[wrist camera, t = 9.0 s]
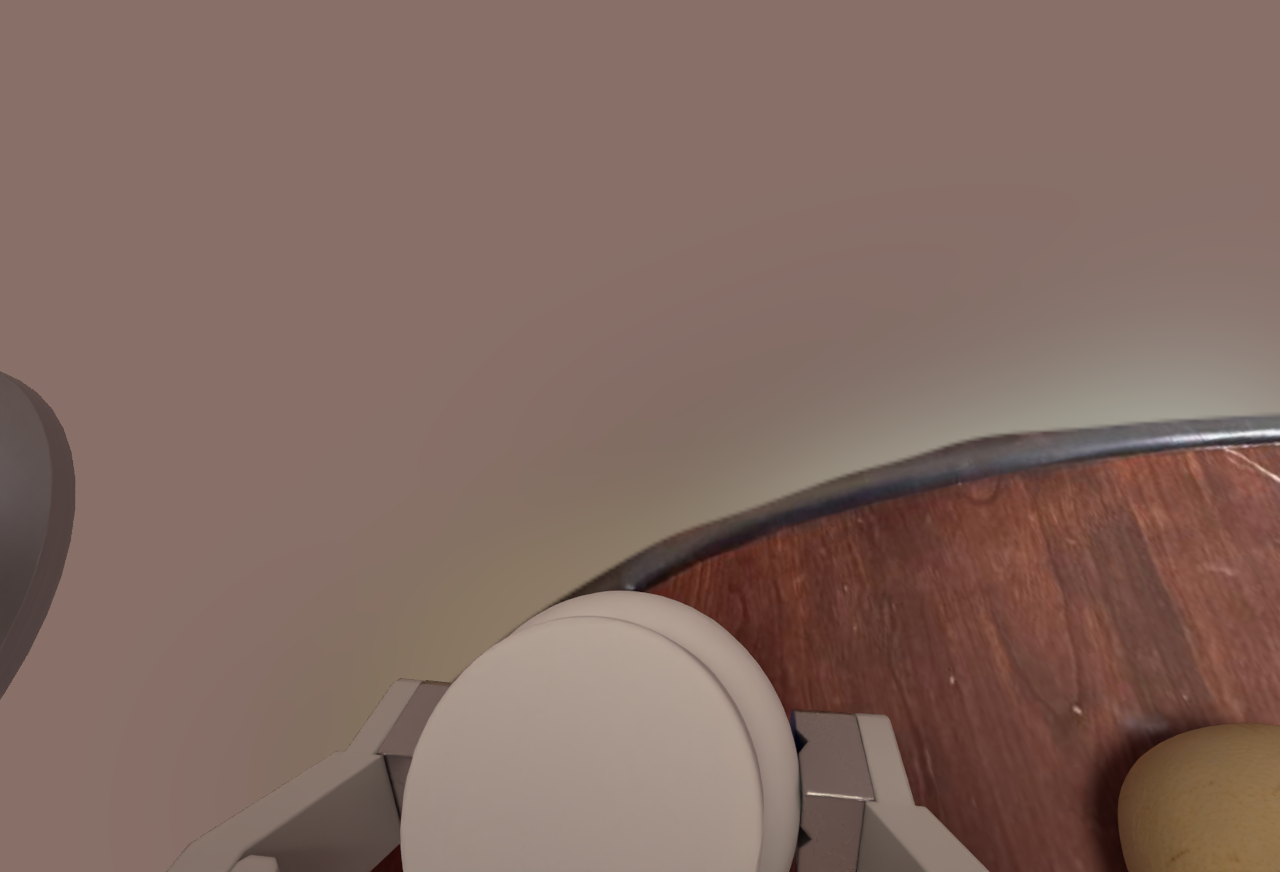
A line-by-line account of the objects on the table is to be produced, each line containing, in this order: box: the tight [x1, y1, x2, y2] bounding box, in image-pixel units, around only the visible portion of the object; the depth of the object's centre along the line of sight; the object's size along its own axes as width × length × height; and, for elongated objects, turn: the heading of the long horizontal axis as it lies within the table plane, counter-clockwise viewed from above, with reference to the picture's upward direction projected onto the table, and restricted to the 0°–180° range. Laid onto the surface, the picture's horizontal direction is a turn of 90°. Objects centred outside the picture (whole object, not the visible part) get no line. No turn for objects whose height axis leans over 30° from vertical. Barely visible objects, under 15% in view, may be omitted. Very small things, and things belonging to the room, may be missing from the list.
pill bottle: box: [400, 591, 801, 872], centre depth 11 cm, size 5×5×10 cm
